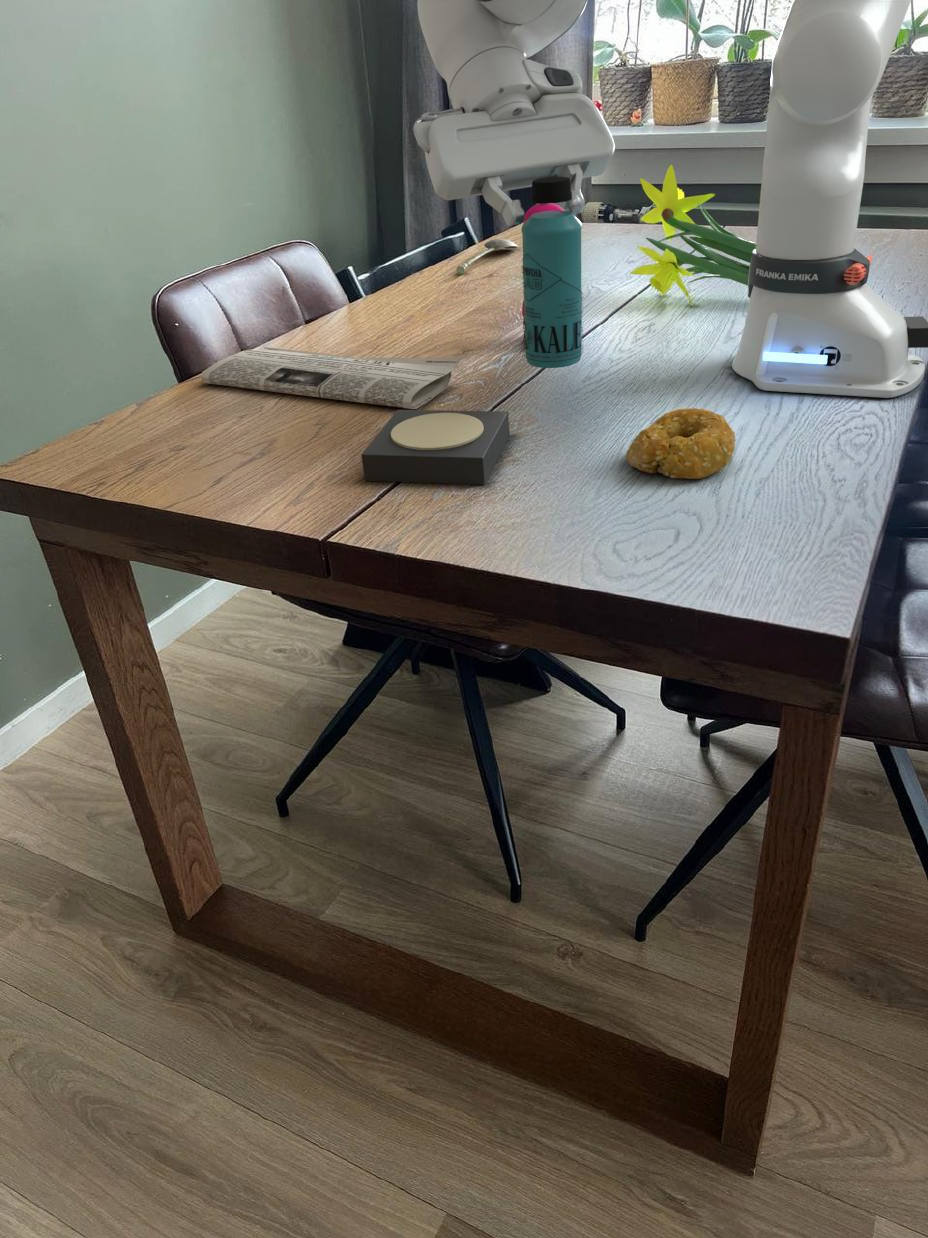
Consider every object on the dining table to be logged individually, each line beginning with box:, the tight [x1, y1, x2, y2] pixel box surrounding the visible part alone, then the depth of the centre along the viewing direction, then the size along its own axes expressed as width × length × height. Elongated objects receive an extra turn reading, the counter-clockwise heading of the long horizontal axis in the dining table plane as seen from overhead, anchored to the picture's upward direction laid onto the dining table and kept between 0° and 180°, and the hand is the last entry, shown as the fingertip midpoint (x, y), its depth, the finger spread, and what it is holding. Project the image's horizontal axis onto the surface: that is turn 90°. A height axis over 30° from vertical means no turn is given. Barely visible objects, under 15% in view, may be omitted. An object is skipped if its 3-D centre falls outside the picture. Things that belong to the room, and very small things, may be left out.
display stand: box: [361, 409, 510, 486], centre depth 103 cm, size 13×13×3 cm
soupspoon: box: [455, 238, 519, 276], centre depth 183 cm, size 22×3×7 cm
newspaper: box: [200, 346, 462, 410], centre depth 127 cm, size 35×12×4 cm, turn 61°
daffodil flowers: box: [629, 163, 756, 307], centre depth 144 cm, size 17×15×35 cm
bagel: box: [625, 407, 736, 480], centre depth 96 cm, size 10×11×5 cm
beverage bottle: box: [520, 177, 584, 369], centre depth 100 cm, size 6×7×20 cm
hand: (547, 215), depth 97 cm, fingers closed on beverage bottle, 6 cm apart
